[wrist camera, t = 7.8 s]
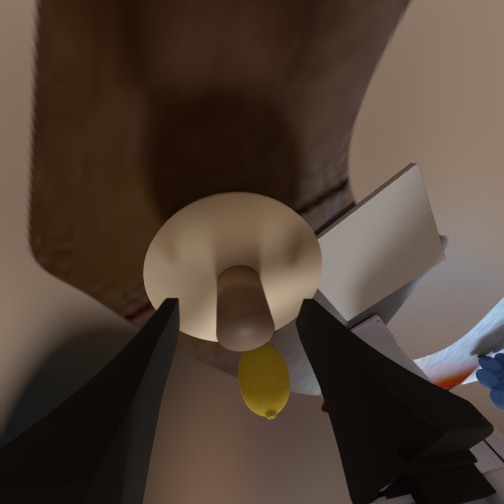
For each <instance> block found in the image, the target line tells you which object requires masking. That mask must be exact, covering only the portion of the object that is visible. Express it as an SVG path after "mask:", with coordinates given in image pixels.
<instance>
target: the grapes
mask: <svg viewBox="0 0 504 504" xmlns="http://www.w3.org/2000/svg"><path fill="white" fill-rule="evenodd" d="M478 361H479V364H480V366H481V367H482V369H479V370H477V372H476V377H477V379H478V380H479V382H480V383H481V384H482V385H484V386H485V387H487V388H489V389H492V390H491V391H490V398H491V400H492V401H493V403H494V404H495V405H496V406H497V407H498V408H500V409H501V410H503V411H504V353H498V354H496V355H495V357H494V358H492V357H490V356H481V357H480V358H479V359H478Z"/></svg>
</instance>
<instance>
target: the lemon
mask: <svg viewBox="0 0 504 504" xmlns="http://www.w3.org/2000/svg"><path fill="white" fill-rule="evenodd" d="M238 381H239V387H240V391H241V394H242V397H243V399H244V401H245V402H246V404H247V406H248V407H249V408H250V409H251V410H252V411H253V412H255V413H256V414H258V415H260V416H266V417H267V418H268V419H273V418H275V416H276V414H277V413H278V412H279V411H280V410H282V408H283V407H284V406H285V404H286V402H287V399H288V396H289V391H290V382H289V373H288V369H287V365H286V363H285V360H284V358H283V356H282V355H281V353H280V352H279V350H278V349H277V348H275V347H274V346H273V345H271V344H269V343H267V342H266V343H265V344H264V345H262V346H260V347H258V348H256V349H253V350H249V351H244V352H243V353H242V355H241V358H240V360H239V365H238Z"/></svg>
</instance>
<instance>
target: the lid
mask: <svg viewBox="0 0 504 504" xmlns="http://www.w3.org/2000/svg"><path fill="white" fill-rule="evenodd" d="M321 274H322V253H321V249H320V245H319V242H318V240H317V238H316V235H315V234H314V232H313V231H312V229H311V227H310V226H309V225H308V224H307V223H306V222H305V220H304V219H303V218H302V217H300V216H299V215H298V214H297V213H296V212H294V211H293V210H292V209H291V208H290V207H288V206H286V205H285V204H283V203H281V202H280V201H277V200H275V199H273V198H270V197H268V196H264V195H260V194H256V193H249V192H226V193H219V194H214V195H210V196H207V197H204V198H201V199H199V200H196V201H194V202H192V203H190V204H188V205H187V206H185V207H183V208H182V209H180V210H179V211H177V212H176V213H175V214H174V215H173V216H172V217H170V218H169V219H168V220H167V222H166V223H165V224H164V225H163V226H162V227H161V229H160V230H159V231H158V233H157V234H156V236H155V238H154V239H153V241H152V242H151V244H150V247H149V249H148V252H147V254H146V258H145V263H144V284H145V288H146V292H147V295H148V297H149V299H150V301H151V303H152V305H153V306H154V308H155V309H156V310H157V309H158V308H159V306H160V305H161V304H162V302H163V301H164V300H165V299H166V298H179V313H180V328H179V330H180V331H182V332H184V333H186V334H188V335H191V336H194V337H197V338H200V339H205V340H210V341H217V342H219V343H220V344H221V345H222V346H223V347H225V348H227V349H229V350H233V351H249V350H253V349H256V348H258V347H260V346H262V345H264V344H265V343H266V342H268V341H269V340H270V338H271V337H272V336H273V334H274V331H276V330H278V329H280V328H281V327H283V326H284V325H286V324H288V323H289V322H290V321H292V320H293V319H294V318H295V317H296V316H298V314H299V311H300V308H301V305H302V302H303V299H312V298H313V296H314V294H315V292H316V290H317V287H318V285H319V282H320V278H321Z"/></svg>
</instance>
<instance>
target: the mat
mask: <svg viewBox="0 0 504 504" xmlns="http://www.w3.org/2000/svg"><path fill="white" fill-rule="evenodd" d="M316 238H317V240H318V242H319V245H320V249H321V253H322V274H321V278H320V282H319V285H318V287H317V288H318V289H319V290H320V291H321V292H322V293H323V294H324V296H325V297H326V298H327V299H328V300H329V301H330V302H331V303H332V305H333V306H334V307H335V308H336V309H337V310H338V311H339V312H340V314H341V315H342V316H343V317H344V318H345V319H346V320H347V321H349V320H351V319H352V318H354V317H355V316H357V315H358V314H360V313H362V312H363V311H365V310H366V309H368V308H370V307H371V306H373V305H374V304H376V303H377V302H379V301H381V300H382V299H384V298H385V297H387V296H388V295H390V294H392V293H393V292H395V291H396V290H398V289H399V288H401V287H403V286H404V285H406V284H407V283H409V282H411V281H412V280H414V279H415V278H417V277H418V276H420V275H422V274H423V273H425V272H426V271H428V270H429V269H431V268H433V267H434V266H436V265H437V264H439V263H440V262H442V261H444V260H445V259H446V257H445V254H444V251H443V247H442V244H441V241H440V237H439V234H438V231H437V227H436V224H435V221H434V217H433V214H432V211H431V207H430V204H429V200H428V197H427V194H426V190H425V188H424V184H423V180H422V177H421V174H420V171H419V167H418V164H417V163H410V164H409V165H408V166H406V167H405V168H404V169H403V170H401V171H400V172H399V173H397V174H396V175H395V176H394V177H392V178H391V179H390V180H388V181H387V182H386V183H384V184H383V185H382V186H381V187H379V188H378V189H377V190H376V191H374V192H373V193H371V194H370V195H369V196H368V197H366V198H365V199H364V200H362V201H361V202H360V203H358V204H357V205H356V206H355V207H353V208H352V209H351V210H349V211H348V212H347V213H346V214H344V215H343V216H342V217H340V218H339V219H338V220H336V221H335V222H334V223H333V224H331V225H330V226H329V227H327V228H326V229H325V230H323V231H322V232H321V233H320V234H318V235H317V236H316Z"/></svg>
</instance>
